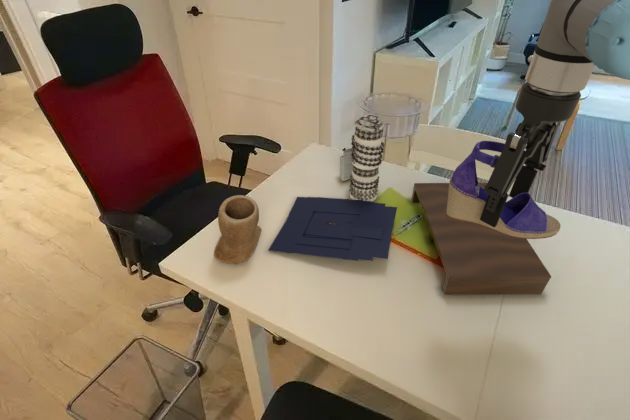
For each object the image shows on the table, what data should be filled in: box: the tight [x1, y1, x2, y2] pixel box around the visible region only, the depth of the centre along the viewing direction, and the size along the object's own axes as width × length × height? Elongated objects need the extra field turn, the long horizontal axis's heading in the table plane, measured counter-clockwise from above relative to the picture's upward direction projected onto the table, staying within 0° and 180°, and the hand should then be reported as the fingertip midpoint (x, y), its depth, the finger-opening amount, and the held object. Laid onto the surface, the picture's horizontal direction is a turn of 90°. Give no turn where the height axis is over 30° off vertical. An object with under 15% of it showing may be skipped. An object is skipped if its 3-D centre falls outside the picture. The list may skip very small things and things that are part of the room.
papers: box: [268, 196, 398, 262], centre depth 100 cm, size 24×30×4 cm
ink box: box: [339, 147, 353, 182], centre depth 119 cm, size 12×2×12 cm, turn 115°
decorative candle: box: [348, 114, 386, 202], centre depth 106 cm, size 9×9×25 cm
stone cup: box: [213, 194, 262, 265], centre depth 92 cm, size 15×12×15 cm
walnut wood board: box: [411, 182, 552, 296], centre depth 96 cm, size 36×22×6 cm, turn 0°
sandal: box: [446, 140, 561, 240], centre depth 63 cm, size 8×20×15 cm, turn 70°
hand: (502, 210), depth 66 cm, fingers closed on sandal, 10 cm apart
